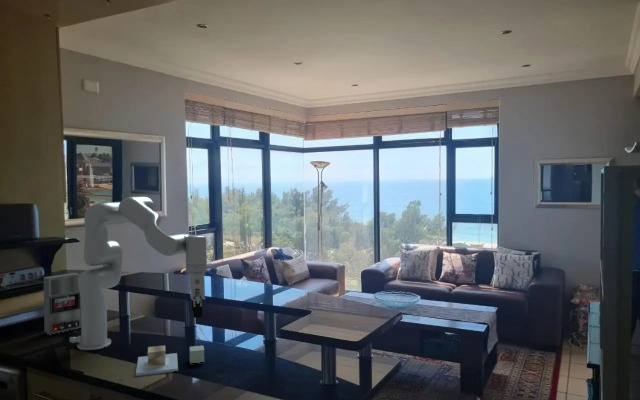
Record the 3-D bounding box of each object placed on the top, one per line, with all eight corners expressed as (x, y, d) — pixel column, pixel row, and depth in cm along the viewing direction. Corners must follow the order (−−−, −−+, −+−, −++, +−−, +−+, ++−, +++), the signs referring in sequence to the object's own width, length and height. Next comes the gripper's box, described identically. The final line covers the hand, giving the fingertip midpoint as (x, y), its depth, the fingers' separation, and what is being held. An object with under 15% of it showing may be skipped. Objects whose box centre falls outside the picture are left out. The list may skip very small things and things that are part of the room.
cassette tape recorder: (49, 336, 207) (48, 279, 206) (44, 333, 211) (43, 277, 210) (82, 328, 218) (81, 274, 217) (76, 326, 222) (75, 272, 221)
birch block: (147, 366, 171) (147, 352, 171) (148, 360, 177) (148, 347, 176) (165, 364, 173) (165, 350, 173) (165, 358, 178) (165, 345, 178)
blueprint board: (135, 376, 165) (135, 373, 165) (138, 359, 180) (138, 356, 180) (178, 371, 169) (177, 368, 169) (177, 355, 185) (177, 352, 184)
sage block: (190, 364, 176) (190, 351, 176) (189, 359, 181) (189, 346, 180) (204, 363, 177) (204, 349, 177) (203, 358, 182) (203, 345, 182)
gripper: (208, 271, 171) (209, 319, 171) (204, 264, 187) (205, 307, 188) (186, 273, 168) (187, 321, 169) (185, 265, 185) (185, 308, 185)
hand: (196, 313), depth 178 cm, fingers open, 9 cm apart
